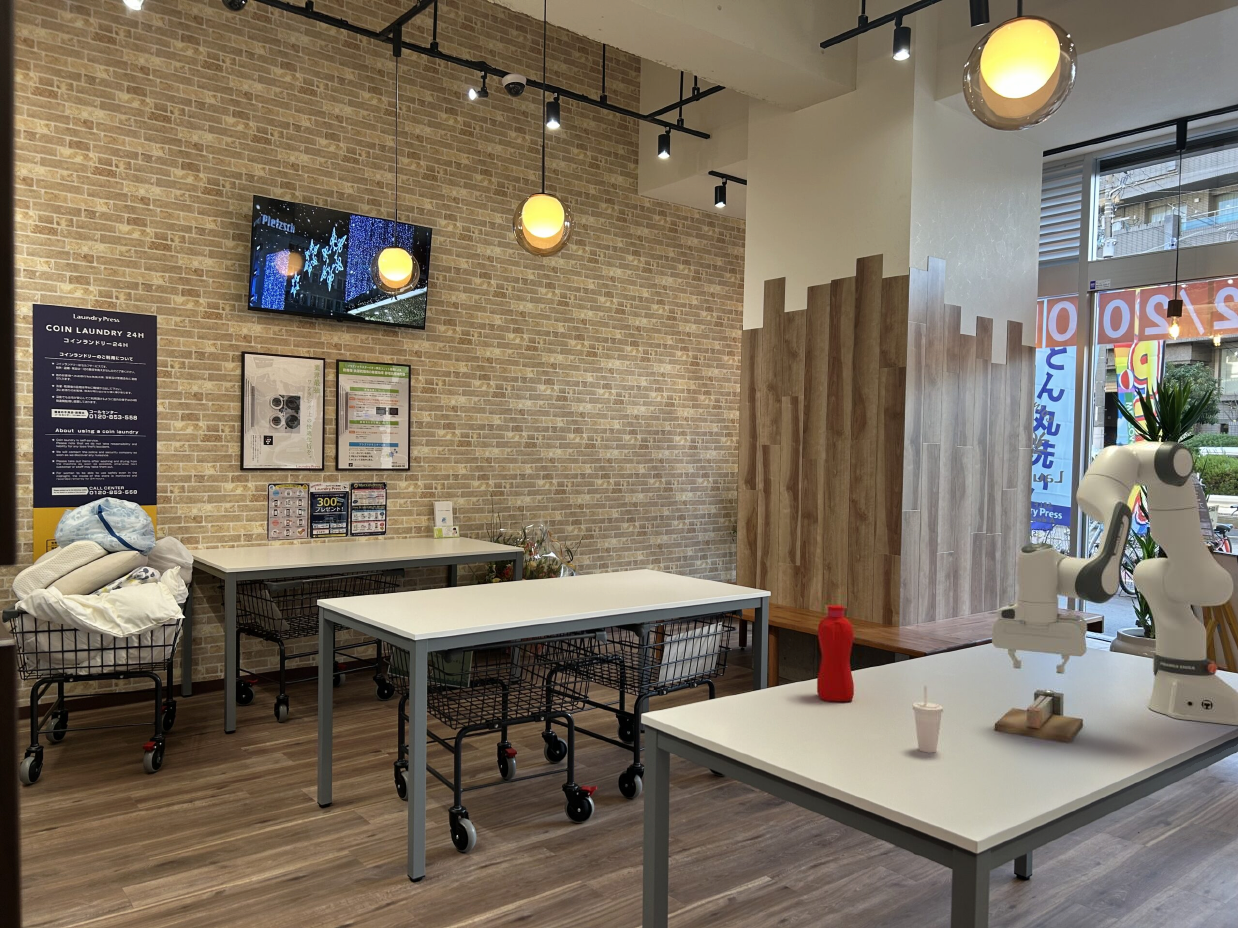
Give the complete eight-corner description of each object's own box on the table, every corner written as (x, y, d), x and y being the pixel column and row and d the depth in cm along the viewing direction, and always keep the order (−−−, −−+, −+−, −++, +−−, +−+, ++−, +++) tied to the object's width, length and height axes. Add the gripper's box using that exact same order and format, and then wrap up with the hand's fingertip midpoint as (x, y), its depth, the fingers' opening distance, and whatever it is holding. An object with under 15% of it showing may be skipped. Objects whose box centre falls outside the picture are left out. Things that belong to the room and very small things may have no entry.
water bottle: (848, 692, 243) (849, 602, 243) (855, 703, 232) (856, 608, 232) (814, 691, 244) (815, 601, 244) (819, 702, 233) (820, 607, 233)
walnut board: (1082, 724, 214) (1082, 718, 214) (1069, 742, 200) (1069, 736, 200) (1012, 713, 224) (1012, 707, 224) (994, 730, 209) (994, 723, 209)
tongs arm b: (1040, 711, 219) (1040, 695, 219) (1045, 712, 219) (1045, 695, 219) (1026, 726, 206) (1026, 708, 206) (1032, 727, 206) (1032, 709, 206)
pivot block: (1063, 717, 221) (1063, 690, 221) (1060, 720, 217) (1060, 694, 217) (1037, 713, 224) (1037, 687, 224) (1033, 716, 221) (1034, 690, 221)
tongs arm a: (1047, 712, 218) (1047, 696, 218) (1052, 713, 218) (1052, 696, 218) (1032, 727, 206) (1033, 709, 206) (1038, 728, 205) (1039, 710, 205)
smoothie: (918, 743, 198) (918, 681, 198) (947, 749, 194) (947, 685, 194) (907, 750, 193) (908, 686, 193) (936, 756, 189) (937, 691, 189)
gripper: (1089, 614, 206) (1089, 673, 206) (996, 606, 218) (997, 662, 218) (1084, 618, 201) (1085, 678, 201) (989, 610, 213) (990, 667, 213)
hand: (1038, 670), depth 209 cm, fingers open, 8 cm apart
